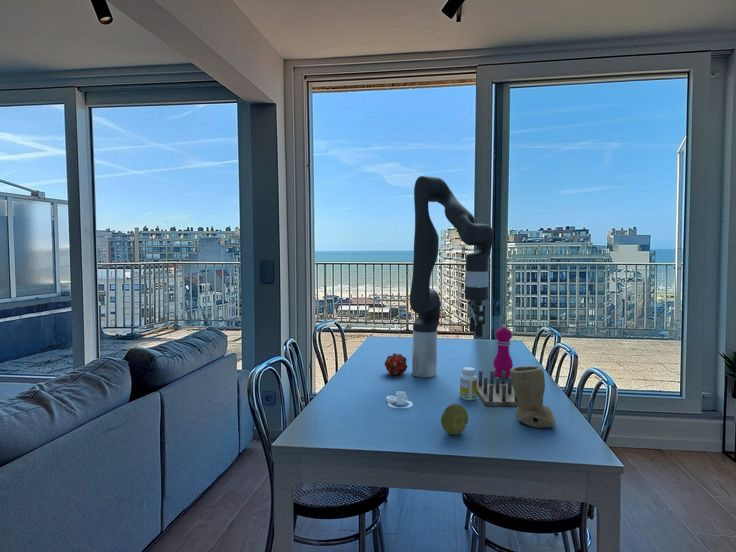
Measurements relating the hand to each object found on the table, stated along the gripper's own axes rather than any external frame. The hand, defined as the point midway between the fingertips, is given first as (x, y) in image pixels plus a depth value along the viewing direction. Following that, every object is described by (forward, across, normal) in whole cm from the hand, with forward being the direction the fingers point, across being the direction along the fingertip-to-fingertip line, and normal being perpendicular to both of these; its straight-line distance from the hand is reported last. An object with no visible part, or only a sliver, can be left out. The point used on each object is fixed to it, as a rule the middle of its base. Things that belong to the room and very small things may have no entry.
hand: (475, 334), depth 149 cm
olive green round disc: (+21, +30, -12) cm, 39 cm away
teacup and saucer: (+21, +5, -24) cm, 33 cm away
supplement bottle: (+21, +2, -2) cm, 21 cm away
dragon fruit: (+21, -25, -25) cm, 41 cm away
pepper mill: (+21, -24, +16) cm, 36 cm away
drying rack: (+21, 0, +10) cm, 23 cm away
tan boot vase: (+21, +20, +12) cm, 31 cm away
